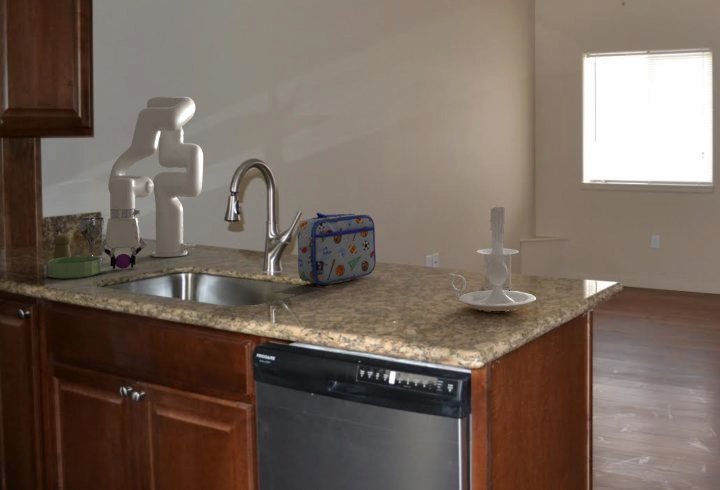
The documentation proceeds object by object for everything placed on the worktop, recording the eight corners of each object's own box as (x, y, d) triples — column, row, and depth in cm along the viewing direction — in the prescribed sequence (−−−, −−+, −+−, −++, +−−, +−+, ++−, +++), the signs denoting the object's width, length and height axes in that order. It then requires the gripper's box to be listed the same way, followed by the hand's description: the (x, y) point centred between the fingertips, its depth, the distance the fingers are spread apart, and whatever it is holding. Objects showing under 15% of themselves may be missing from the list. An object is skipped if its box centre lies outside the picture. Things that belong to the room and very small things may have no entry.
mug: (494, 295, 230) (495, 254, 230) (471, 291, 235) (471, 251, 235) (517, 288, 240) (517, 249, 240) (494, 285, 245) (494, 246, 245)
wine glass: (108, 259, 289) (108, 218, 289) (87, 262, 283) (87, 220, 282) (96, 257, 294) (96, 216, 293) (74, 260, 287) (74, 218, 287)
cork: (76, 265, 275) (76, 234, 275) (65, 268, 269) (64, 236, 269) (60, 265, 275) (60, 233, 275) (48, 268, 269) (48, 236, 269)
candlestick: (465, 297, 226) (466, 200, 226) (546, 305, 217) (547, 203, 216) (431, 312, 207) (431, 205, 207) (518, 321, 198) (519, 209, 197)
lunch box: (313, 289, 236) (313, 216, 236) (290, 285, 242) (290, 213, 242) (379, 276, 259) (379, 209, 258) (357, 273, 265) (357, 207, 264)
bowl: (101, 269, 267) (101, 255, 267) (98, 277, 253) (98, 261, 253) (49, 272, 261) (49, 257, 261) (43, 280, 247) (43, 264, 247)
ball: (131, 266, 272) (131, 252, 272) (131, 269, 267) (131, 254, 267) (115, 267, 270) (115, 253, 270) (114, 270, 265) (114, 255, 265)
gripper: (150, 212, 275) (150, 264, 275) (95, 214, 268) (95, 267, 268) (150, 214, 268) (150, 267, 269) (93, 216, 261) (94, 271, 262)
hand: (123, 267), depth 268 cm, fingers closed on ball, 4 cm apart
